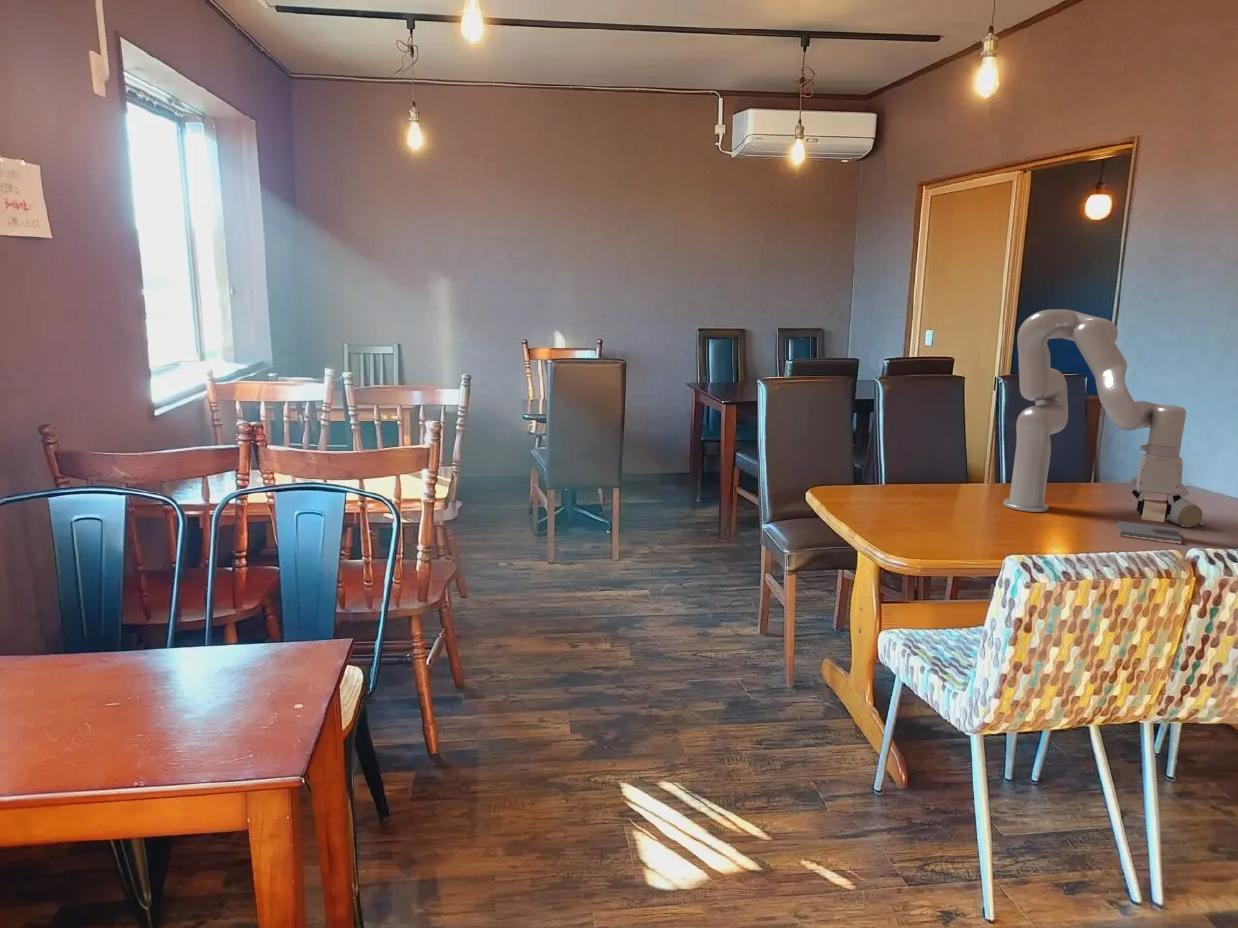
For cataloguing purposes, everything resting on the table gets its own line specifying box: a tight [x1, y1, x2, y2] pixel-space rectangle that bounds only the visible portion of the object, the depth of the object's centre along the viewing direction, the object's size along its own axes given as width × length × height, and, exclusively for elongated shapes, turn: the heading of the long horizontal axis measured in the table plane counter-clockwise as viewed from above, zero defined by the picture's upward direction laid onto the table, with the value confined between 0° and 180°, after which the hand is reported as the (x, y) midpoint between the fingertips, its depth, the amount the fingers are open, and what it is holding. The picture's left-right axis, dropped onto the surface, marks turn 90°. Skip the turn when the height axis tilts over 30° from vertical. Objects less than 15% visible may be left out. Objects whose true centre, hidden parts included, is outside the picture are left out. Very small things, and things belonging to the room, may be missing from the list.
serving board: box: [1117, 520, 1183, 541], centre depth 225 cm, size 11×14×2 cm
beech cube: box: [1140, 497, 1167, 523], centre depth 223 cm, size 5×5×5 cm
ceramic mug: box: [1164, 497, 1207, 527], centre depth 235 cm, size 11×8×8 cm
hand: (1152, 515), depth 223 cm, fingers closed on beech cube, 5 cm apart
